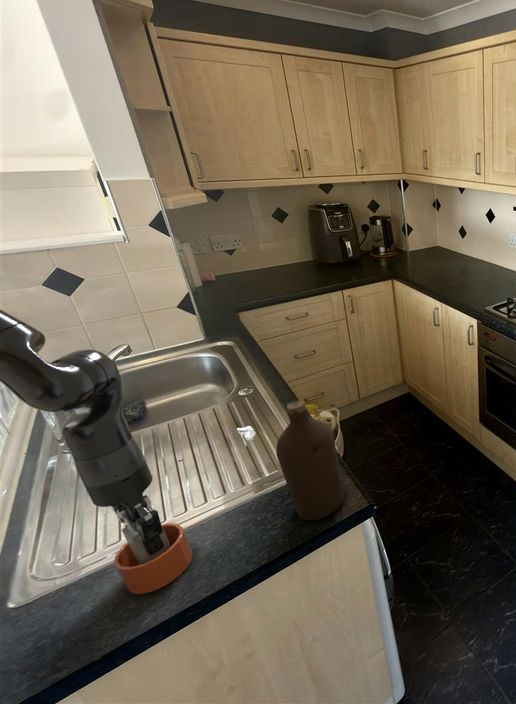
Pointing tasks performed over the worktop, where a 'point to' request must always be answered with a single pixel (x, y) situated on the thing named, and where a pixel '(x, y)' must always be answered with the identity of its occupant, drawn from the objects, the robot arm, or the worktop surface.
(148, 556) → the block
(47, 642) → the worktop surface
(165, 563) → the bowl
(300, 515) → the olive oil
